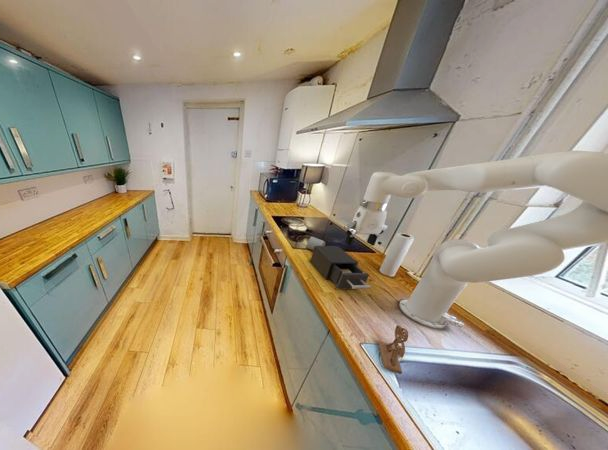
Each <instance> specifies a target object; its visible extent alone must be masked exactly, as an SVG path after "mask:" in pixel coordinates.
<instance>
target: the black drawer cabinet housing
mask: <svg viewBox="0 0 608 450" xmlns="http://www.w3.org/2000/svg"><path fill="white" fill-rule="evenodd" d="M309 262H310V263H311V264H312V265H313V266H314V267H315V269H316V270H317V271H318V272H319V273H320V274H321V276H322V277H323V278H324V279H325V280H331V279H330V277H329V273H330V270H331V267H332V265H333V264H355V265H356V266H357V267H358V264H359V261H357V260H356V259H355V258H354V257H353V256H351V255H350V254H348V253H347V252H346V251H345V250H344V249H343V248H341V247H340V246H339V245H325V246H314V250H312V254H311V257H310V261H309Z"/></svg>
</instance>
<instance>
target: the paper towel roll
mask: <svg viewBox="0 0 608 450" xmlns="http://www.w3.org/2000/svg"><path fill="white" fill-rule="evenodd" d="M414 240H415V237H414V236H413V235H412V234H410V233H408V232H406V233H404V232H397V233H396V234H395V237H394V239H393V240H392V243H391V245H390V247H389V249H388V250H387V252H386V255H385V257H384V259H383V262H382V263H381V266H380V268H379V272H380V273H381V274H382V275H385V276H387V277H391V278H392V277H395V276H396V274H397V273H398V270H399V268H400V266H401V264H402V263H403V261H404V259H405V257H406V255H407V253H408V251H409V249H410V247H411V246H412V244H413V242H414Z"/></svg>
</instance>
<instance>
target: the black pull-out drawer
mask: <svg viewBox="0 0 608 450" xmlns="http://www.w3.org/2000/svg"><path fill="white" fill-rule="evenodd" d="M341 269H349V270H350V271H351V272H352V273H342V270H341ZM329 277H330V279H329V280H331V281H332V282H333V283H334V284H335V285H336V287H335V288H336V289H337V290H371V289H372V286H371V285H370V284H369V285H368V284H367V281H368V278H369V277H370V274H369V273H368V272H364V270H363V269H362V268H360V267H359V266H358V265H357V266H356V265H355V264H333V265H332V267H331V270H330V273H329Z"/></svg>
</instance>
